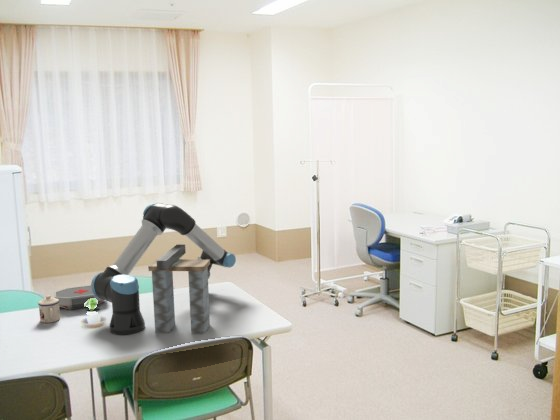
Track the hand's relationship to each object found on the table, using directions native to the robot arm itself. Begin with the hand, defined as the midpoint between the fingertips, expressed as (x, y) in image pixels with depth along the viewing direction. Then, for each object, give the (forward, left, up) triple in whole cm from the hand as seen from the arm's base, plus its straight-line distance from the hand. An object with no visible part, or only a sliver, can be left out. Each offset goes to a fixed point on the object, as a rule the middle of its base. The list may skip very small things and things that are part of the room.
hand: (184, 259), depth 259 cm
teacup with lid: (-60, -17, -26) cm, 68 cm away
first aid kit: (-55, +5, -26) cm, 61 cm away
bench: (+5, -24, -25) cm, 35 cm away
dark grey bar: (+1, -22, +5) cm, 22 cm away
